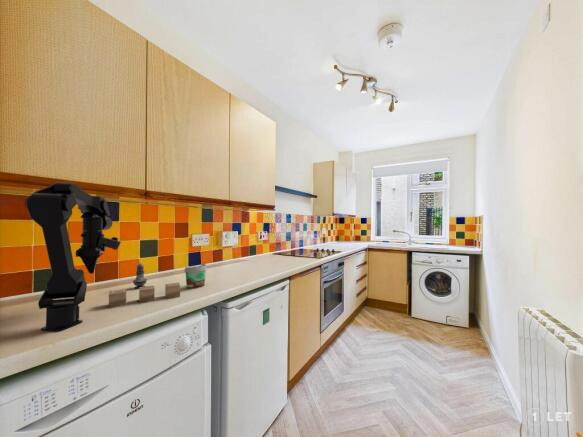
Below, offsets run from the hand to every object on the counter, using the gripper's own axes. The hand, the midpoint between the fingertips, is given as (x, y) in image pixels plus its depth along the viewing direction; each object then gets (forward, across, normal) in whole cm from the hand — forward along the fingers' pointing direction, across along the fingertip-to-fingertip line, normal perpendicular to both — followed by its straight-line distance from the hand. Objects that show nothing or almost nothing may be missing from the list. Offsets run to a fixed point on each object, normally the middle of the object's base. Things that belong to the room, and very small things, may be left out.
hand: (91, 273), depth 86 cm
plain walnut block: (+12, -3, -17) cm, 21 cm away
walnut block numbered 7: (+12, -3, -8) cm, 15 cm away
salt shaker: (+12, +21, -15) cm, 29 cm away
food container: (+12, +8, -39) cm, 42 cm away
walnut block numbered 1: (+12, -3, -26) cm, 29 cm away
